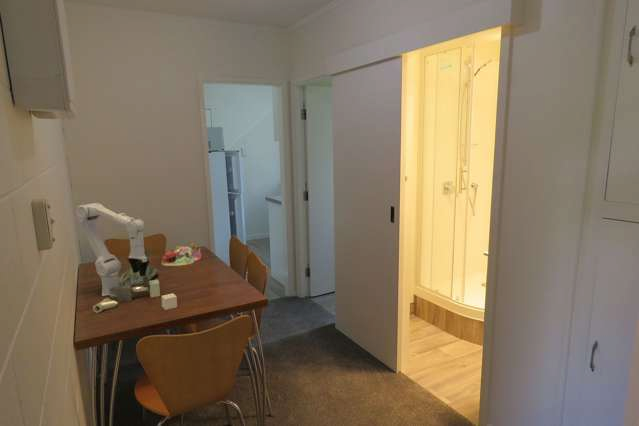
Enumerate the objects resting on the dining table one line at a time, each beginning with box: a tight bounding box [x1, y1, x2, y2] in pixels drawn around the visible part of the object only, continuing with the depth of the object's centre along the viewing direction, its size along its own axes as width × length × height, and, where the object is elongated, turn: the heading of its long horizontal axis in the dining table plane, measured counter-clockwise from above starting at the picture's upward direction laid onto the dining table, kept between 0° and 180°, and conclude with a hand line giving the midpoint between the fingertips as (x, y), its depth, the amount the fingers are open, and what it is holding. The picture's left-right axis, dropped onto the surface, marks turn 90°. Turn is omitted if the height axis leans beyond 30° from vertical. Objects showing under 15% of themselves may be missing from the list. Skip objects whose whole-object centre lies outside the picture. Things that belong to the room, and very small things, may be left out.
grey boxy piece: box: [109, 285, 133, 304], centre depth 177 cm, size 5×8×6 cm, turn 119°
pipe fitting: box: [92, 297, 119, 314], centre depth 168 cm, size 8×4×7 cm
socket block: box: [148, 279, 161, 298], centre depth 184 cm, size 6×4×6 cm, turn 29°
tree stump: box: [118, 249, 159, 287], centre depth 207 cm, size 19×21×19 cm
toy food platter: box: [160, 243, 203, 267], centre depth 243 cm, size 25×24×9 cm
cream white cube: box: [160, 293, 178, 311], centre depth 169 cm, size 5×5×5 cm
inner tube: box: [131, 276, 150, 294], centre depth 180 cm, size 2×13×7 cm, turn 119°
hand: (139, 274), depth 183 cm, fingers open, 7 cm apart
